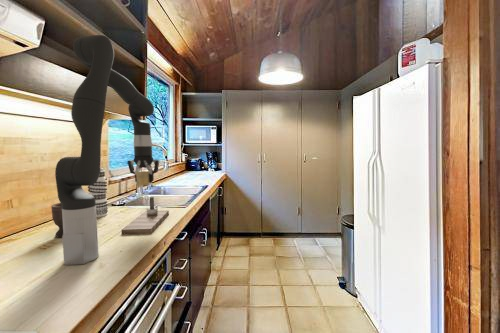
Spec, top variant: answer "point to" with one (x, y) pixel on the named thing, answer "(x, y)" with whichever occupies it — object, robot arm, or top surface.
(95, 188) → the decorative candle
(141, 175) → the tan block
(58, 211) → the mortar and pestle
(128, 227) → the hinge base
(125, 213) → the top surface
